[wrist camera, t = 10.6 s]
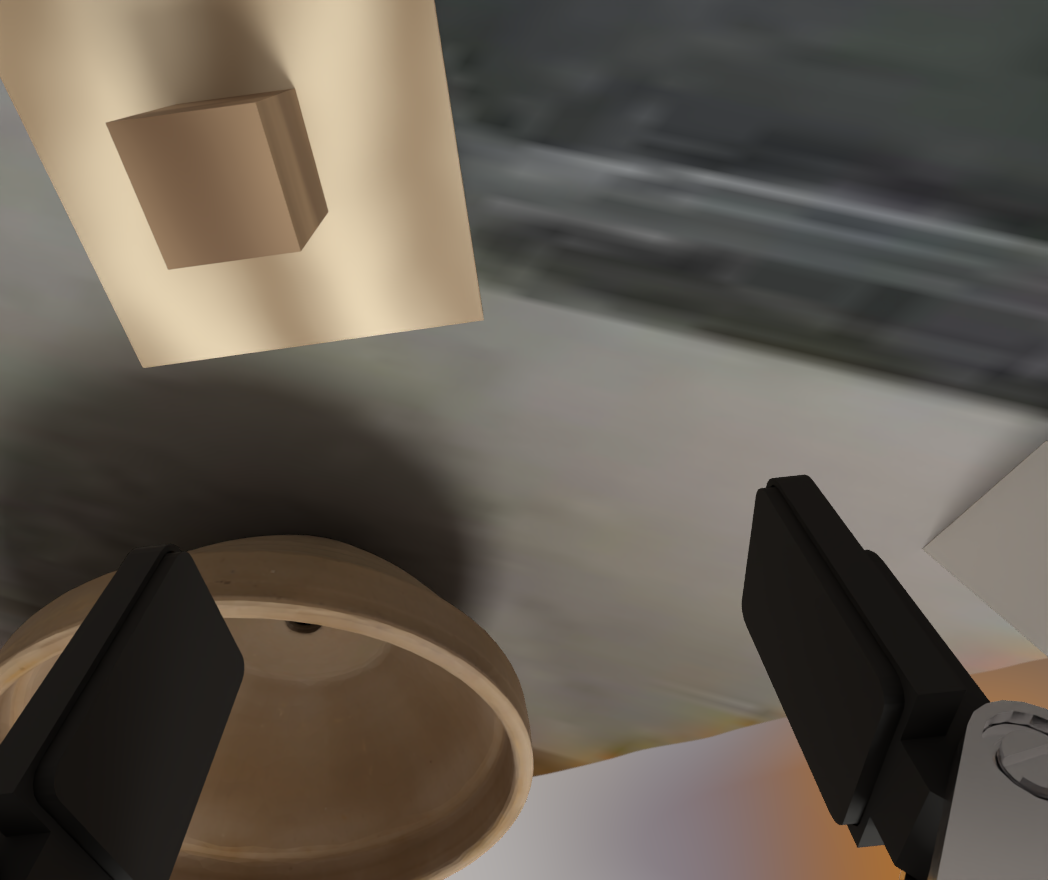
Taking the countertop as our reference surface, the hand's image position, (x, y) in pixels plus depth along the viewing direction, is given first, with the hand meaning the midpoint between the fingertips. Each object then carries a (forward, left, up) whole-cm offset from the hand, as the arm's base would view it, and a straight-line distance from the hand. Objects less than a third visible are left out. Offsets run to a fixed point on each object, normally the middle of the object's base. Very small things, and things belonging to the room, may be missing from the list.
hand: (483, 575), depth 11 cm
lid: (+7, -5, -18) cm, 20 cm away
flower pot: (+15, +24, -24) cm, 37 cm away
